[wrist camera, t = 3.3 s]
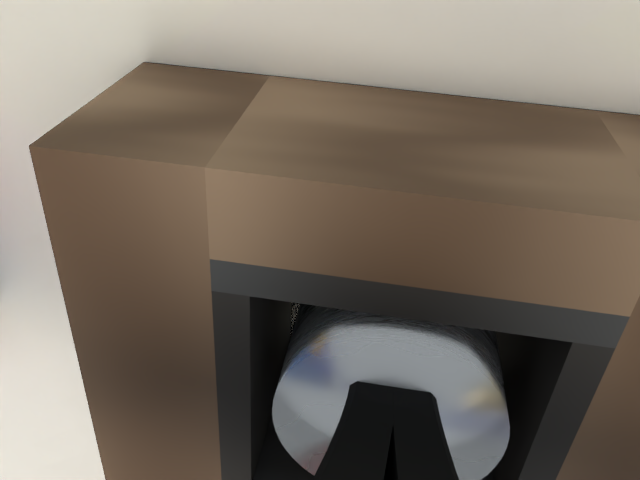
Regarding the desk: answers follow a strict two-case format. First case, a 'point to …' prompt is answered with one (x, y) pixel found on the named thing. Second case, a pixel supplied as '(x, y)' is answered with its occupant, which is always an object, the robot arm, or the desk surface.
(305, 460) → the steel peg
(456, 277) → the brown peg hole block
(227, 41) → the desk surface
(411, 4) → the desk surface
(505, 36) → the desk surface
